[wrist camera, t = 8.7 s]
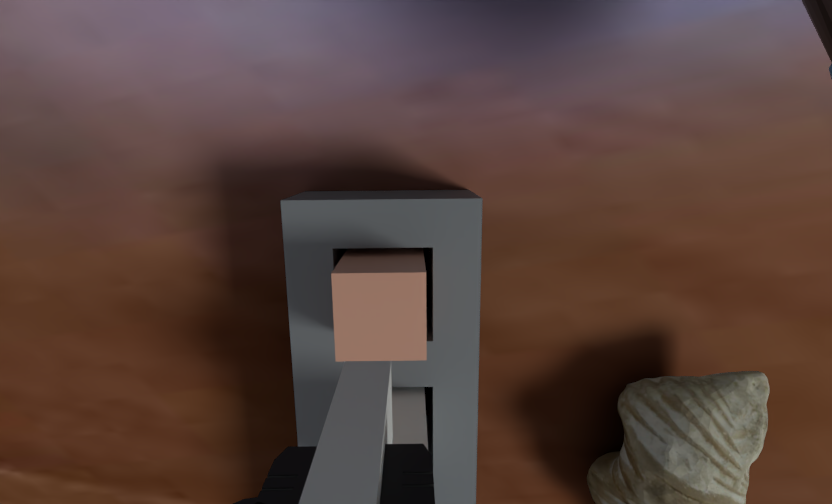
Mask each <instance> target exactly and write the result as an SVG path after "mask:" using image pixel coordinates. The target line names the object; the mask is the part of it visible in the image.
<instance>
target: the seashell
mask: <svg viewBox="0 0 832 504" xmlns="http://www.w3.org/2000/svg"><path fill="white" fill-rule="evenodd" d="M768 396H769V384H768V379H767V377H766V376H765V374H764V373H761V372H759V371H742V372H728V373H719V374H712V375H707V376H702V377H694V376H681V377H675V376H663V377H658V378H644V379H642V380H639V381H637V382H634V383H630V384H627V386H626V388H625V389H624V391H623V392H622V393H621V394H620V396H619V398H618V404H617V410H618V414H619V416H620V417H621V420H622V424H623V428H624V442H623V446H622V448H621V451H616V452H610V453H606V454H605V455H602V456H601V457H599V458H597V460H596V461H595V462H594V463H593V464H592V465H591V467H590V469H589V471H588V474H587V484H588V486H589V490H590V493H591V496H592V498H593V500H594V502H595V503H596V504H746V492H747V488H748V484H749V467H750V465H751V463H752V462H754V461H755V460H756V459H757V458H758V456H759V454H760V452H761V450H762V448H763V444H764V439H765V435H766V431H767V426H768V414H767V406H766V403H767V399H768Z"/></svg>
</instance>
